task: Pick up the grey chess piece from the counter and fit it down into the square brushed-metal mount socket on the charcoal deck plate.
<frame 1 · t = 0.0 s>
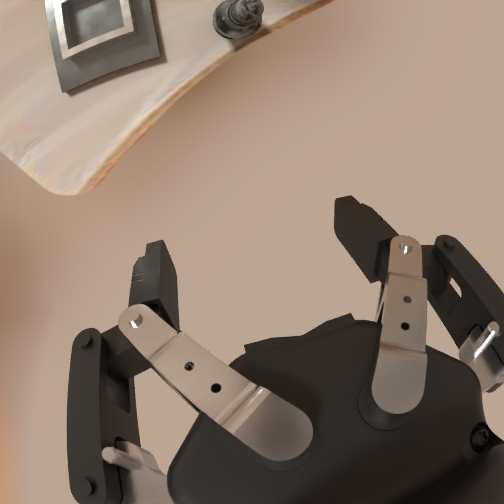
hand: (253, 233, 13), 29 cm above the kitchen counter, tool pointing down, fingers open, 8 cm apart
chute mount: (99, 17, 22), on the kitchen counter
grey chess piece: (232, 22, 28), on the kitchen counter
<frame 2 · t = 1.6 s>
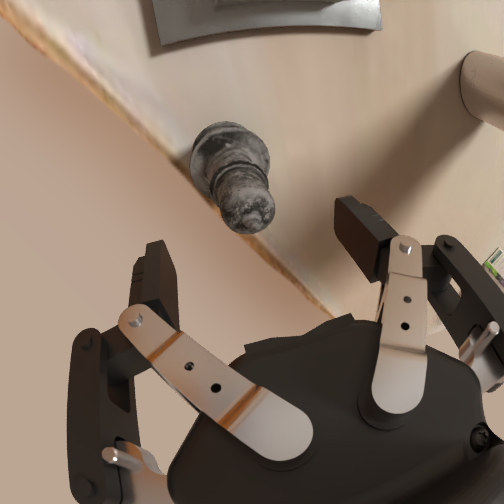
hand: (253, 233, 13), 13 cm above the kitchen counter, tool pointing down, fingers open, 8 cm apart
syrup box: (490, 260, 45), on the kitchen counter
grey chess piece: (224, 151, 23), on the kitchen counter
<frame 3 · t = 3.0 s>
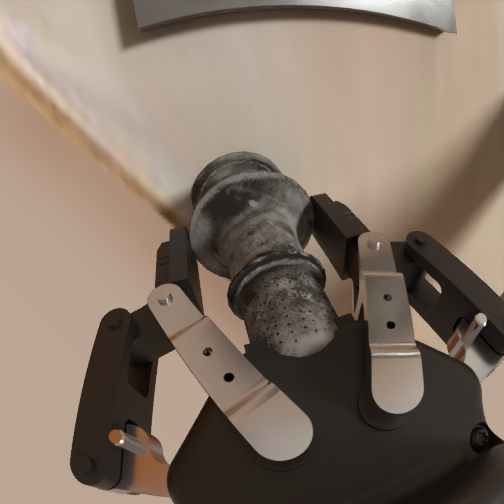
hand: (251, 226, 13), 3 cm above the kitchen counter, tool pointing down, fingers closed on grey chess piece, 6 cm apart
grey chess piece: (239, 195, 16), on the kitchen counter, touching gripper
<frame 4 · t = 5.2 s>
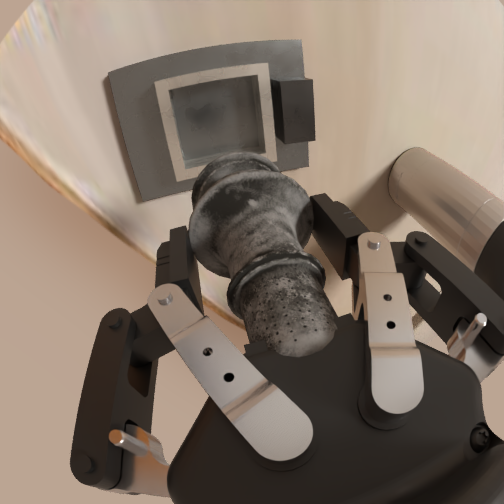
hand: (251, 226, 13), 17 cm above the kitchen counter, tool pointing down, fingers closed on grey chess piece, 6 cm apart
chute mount: (215, 114, 25), on the kitchen counter
grey chess piece: (238, 194, 16), point 14 cm above the kitchen counter, touching gripper
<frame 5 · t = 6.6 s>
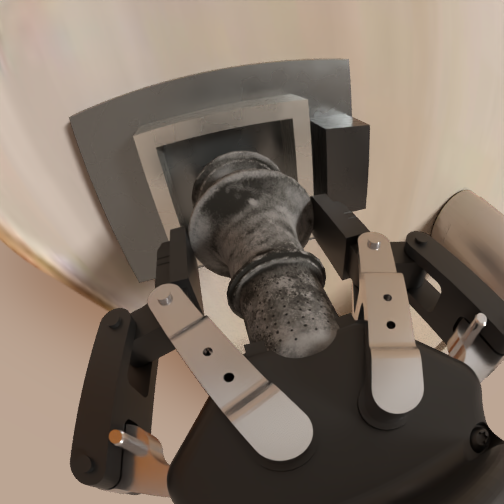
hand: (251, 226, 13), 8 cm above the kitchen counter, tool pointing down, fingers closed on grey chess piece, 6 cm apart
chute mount: (227, 168, 19), on the kitchen counter
grey chess piece: (238, 194, 16), point 4 cm above the kitchen counter, touching gripper
when the fingers open (5 cm above the kitchen counter, at t = 7.6 s): grey chess piece stays where it is, resting on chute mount.
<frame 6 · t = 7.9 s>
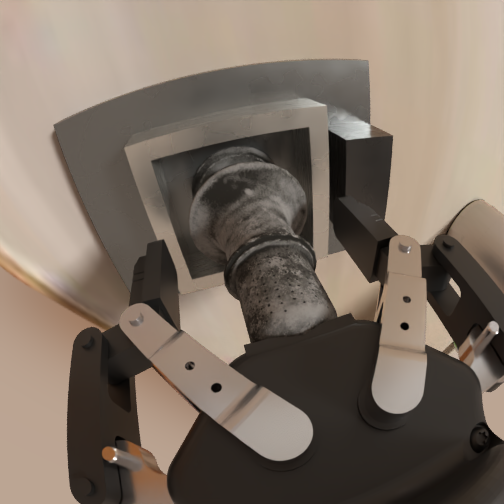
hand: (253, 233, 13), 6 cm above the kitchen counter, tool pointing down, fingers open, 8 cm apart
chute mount: (232, 181, 17), on the kitchen counter
grey chess piece: (236, 187, 17), point 1 cm above the kitchen counter, touching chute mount
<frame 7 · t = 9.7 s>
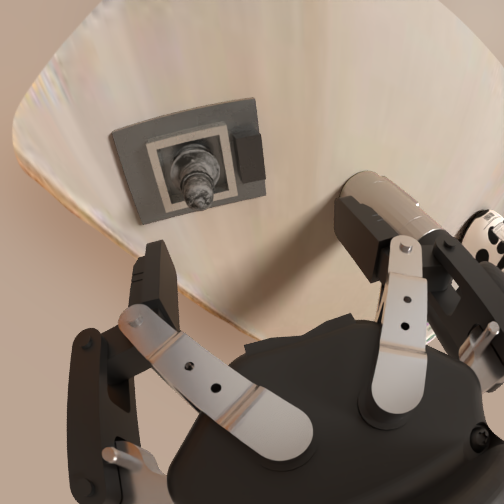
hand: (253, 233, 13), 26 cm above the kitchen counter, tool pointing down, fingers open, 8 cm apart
milk container: (473, 230, 61), on the kitchen counter
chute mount: (192, 160, 36), on the kitchen counter
syrup box: (403, 299, 70), on the kitchen counter
grey chess piece: (193, 162, 35), point 1 cm above the kitchen counter, touching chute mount
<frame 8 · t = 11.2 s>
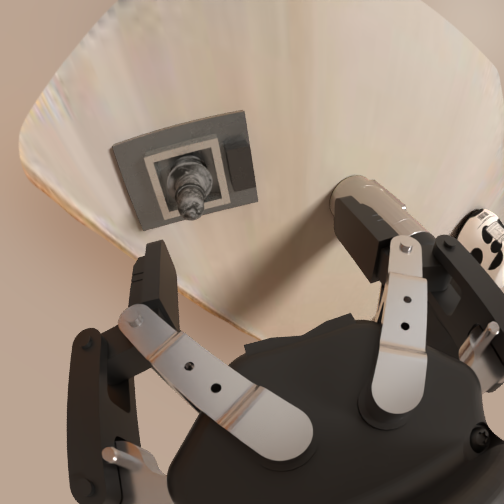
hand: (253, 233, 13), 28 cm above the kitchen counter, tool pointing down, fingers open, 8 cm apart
milk container: (469, 229, 63), on the kitchen counter
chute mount: (188, 170, 38), on the kitchen counter
grey chess piece: (188, 173, 38), point 1 cm above the kitchen counter, touching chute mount
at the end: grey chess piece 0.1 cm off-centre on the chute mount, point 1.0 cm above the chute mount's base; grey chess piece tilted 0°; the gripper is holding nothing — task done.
